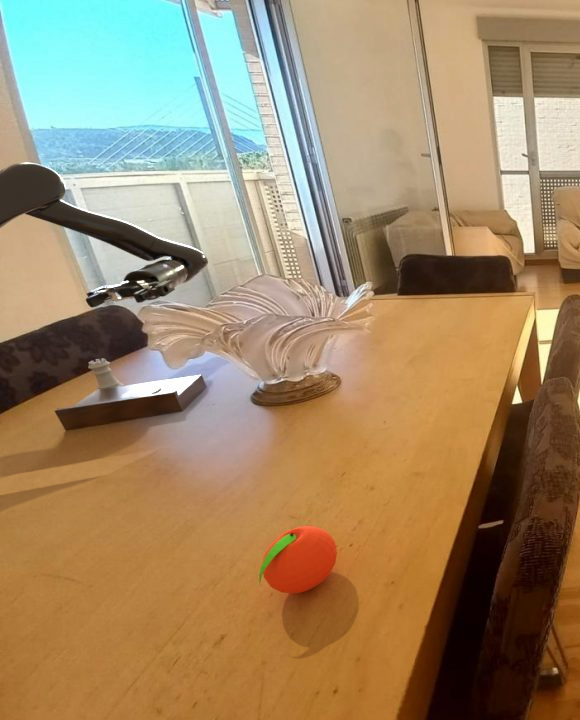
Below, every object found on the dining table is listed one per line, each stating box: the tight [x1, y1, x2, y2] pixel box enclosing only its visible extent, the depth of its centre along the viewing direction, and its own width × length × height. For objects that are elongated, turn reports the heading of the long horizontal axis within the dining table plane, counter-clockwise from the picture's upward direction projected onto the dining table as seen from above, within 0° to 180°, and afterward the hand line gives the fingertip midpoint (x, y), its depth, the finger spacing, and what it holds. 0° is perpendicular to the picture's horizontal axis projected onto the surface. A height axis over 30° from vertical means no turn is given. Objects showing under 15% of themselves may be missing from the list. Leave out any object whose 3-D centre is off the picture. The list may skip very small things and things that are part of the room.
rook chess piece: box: [87, 358, 126, 390], centre depth 101 cm, size 4×4×8 cm
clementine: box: [258, 525, 338, 595], centre depth 52 cm, size 8×7×7 cm
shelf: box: [54, 374, 208, 431], centre depth 96 cm, size 18×12×4 cm, turn 111°
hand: (113, 300), depth 106 cm, fingers open, 8 cm apart
